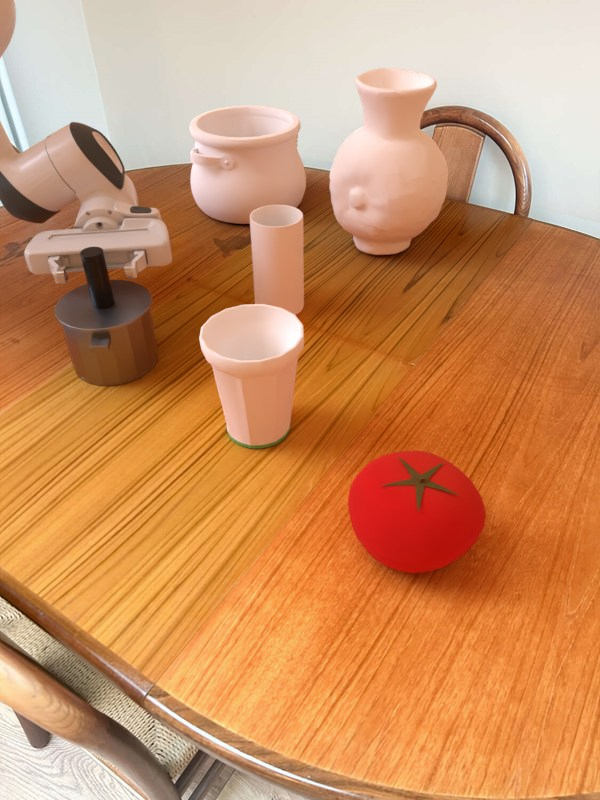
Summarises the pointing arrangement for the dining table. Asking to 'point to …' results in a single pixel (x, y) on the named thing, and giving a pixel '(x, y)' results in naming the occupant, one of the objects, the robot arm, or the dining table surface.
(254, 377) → the cup
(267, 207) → the cup
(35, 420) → the dining table surface
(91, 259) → the lid
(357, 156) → the vase
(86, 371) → the cooker
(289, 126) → the pot
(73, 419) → the dining table surface
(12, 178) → the robot arm
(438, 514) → the tomato
